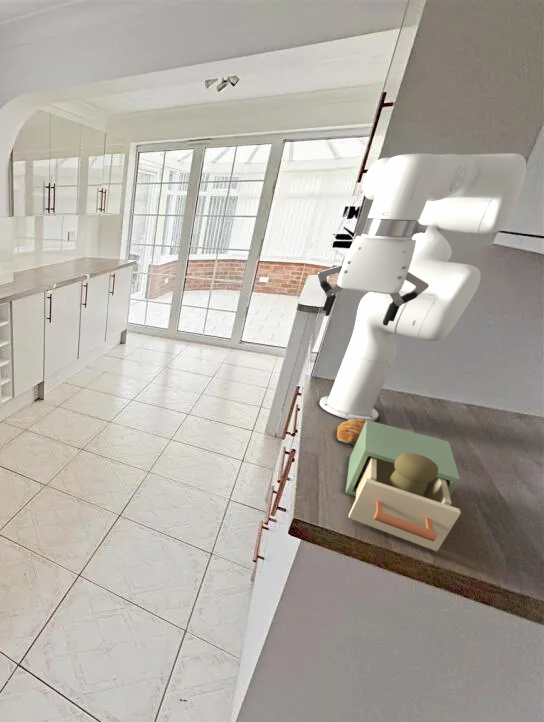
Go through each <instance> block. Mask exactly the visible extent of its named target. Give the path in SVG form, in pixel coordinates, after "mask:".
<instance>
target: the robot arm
mask: <svg viewBox="0 0 544 722" xmlns="http://www.w3.org/2000/svg"><path fill="white" fill-rule="evenodd" d="M526 173H527V161H526V159H525V157H524V156H523V155H522V154H520V153H517V152H516V153H515V152H509V153H508V152H507V153H478V154H477V153H476V154H475V153H474V154H459V153H458V154H457V153H444V154H443V153H442V154H436V153H435V154H434V153H405V154H398V155H396V156H393V157H391V156H390V157H382V158H380V159H378V160H376V161H375V162H374V163H373V164H372V165H371V166H370V167H369V168H368V170H367V172H366V173H365V175H364V178H363V181H362V192H363V195H364V197H365V198H366V199H368V200H370V201H371V200H372V203H371V207H370V210H369V213H368V215H367V218H366V222H365V224H364V227H363V230H362V233H361V235H356V236H355V238H354V240H353V241H352V243H351V245H350V247H349V249H348V252H347V254H346V256H345V259H344V261H343V264H340V265H337V266H334V267H331V268H327V269H325V270H321V271H319V272H318V273H317V277H318V281H319V284H320V288H321V289H322V290H323V292H324V293H325V294H326V299H325V302H324V305H323V308H322V311H323V312H325V314H324V316H325V317H328V316H330V314H331V312H332V309H333V306H334V304H335V301H336V297H337V293H340V292H341V291H342V290H344V289H345V290H350V291H357V292H358V291H359V292H366V294H364V296H363V297H362V298H361V299H360V300H359V301H360V302H359V304H358V307H357V310H356V316H355V323H354V326H353V331H352V335H351V338H350V341H349V343H348V346H347V348H346V351H345V353H344V356H343V358H342V361H341V363H340V367H339V369H338V371H337V375H336V377H335V380H334V383H333V385H332V388H331V391H330V393H329V395H327V396H323V397H321V398H320V400H319V406H320V408H322V409H323V410H324V411H326V412H327V413H330V414H331V415H334V416H336V417H339V418H342V419H346V420H351V419H362V420H365V421H366V420H369V421H373V422H376V420H377V419H378V417H379V412H378V410H376V409H375V408H374V407H375V405H376V402H377V400H378V397H379V395H380V394H381V391H382V388H383V386H384V384H385V382H386V379H387V377H388V375H389V373H390V370H391V368H392V366H393V364H394V362H395V359H396V357H397V354H398V347H397V344H396V342H395V339H394V337H393V335H398V336H403V337H407V338H411V339H417V340H422V341H428V342H437V341H440V340H443V339H444V338H446V337H447V336H448V335H449V334H450V333H451V332H452V330H453V328H455V326H456V324H457V322H458V321H459V320H460V318H461V316H462V315H463V314H464V311H465V310H466V308H467V307H468V305H469V304H470V302H471V300H472V299H473V298H474V295H475V294H476V292H477V290H478V288H479V285H480V282H481V279H482V278H481V271H480V270H479V268H478V267H476V266H474V265H472V264H468V263H463V262H462V263H461V262H454V261H453V262H451V261H449V260H450V259H451V257H452V254H453V251H452V248H451V245H450V243H449V242H448V240H447V239H446V238H445V236H444V235H443V234H441V232H449V233H465V234H478V235H479V234H481V235H484V234H485V235H488V234H495V233H497V232H500V231H501V230H503V229H504V228H505V227H506V226H508V224H509V223H510V221H511V220H512V218H513V217H514V215H513V214H515V212H516V210H515V209H517V206H518V203H519V199H520V197H521V192H522V190H523V186H524V182H525V179H526ZM512 216H513V217H512ZM336 274H338V278H337V281H336V284H335V285H333V286H331V284H330V283H329V281H328V277H329V276H332V275H336Z"/></svg>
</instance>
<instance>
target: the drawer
mask: <svg viewBox="0 0 544 722" xmlns="http://www.w3.org/2000/svg"><path fill="white" fill-rule="evenodd" d="M395 470H396V469H395V467H394V463H391V462H387V461H384V460H381V459H377V458H374V457H371V456H368V458H367V460H366V462H365V464H364V467H363V469H362V471H361V473H360V475H359V477H358V480H357V490H356V496H355V500H354V501H353V504H352V507H351V508H350V510H349V513H348V519H351V520H353V521H356V522H358V523H361V524H363V525H366V526H369V527H371V528H374V529H377V530H380V531H382V532H385V533H386V534H390V535H392V536H395V537H397V538H401V539H403V540H405V541H409V542H411V543H413V544H416V545H419V546H421V547H424V548H426V549H429V550H432V551H434V552H438V551H439V550H440V548H441V546H442V545H443V543H444V541H445V540H446V538H447V537H448V535H449V533H450V532H451V530H452V529H453V526H454V525H455V523H456V522H457V520H458V518H459V517H460V515H461V513H462V512H461V509H460V508H458V507H455V506H452V500H451V496H450V495H449V490H448V486H447V482H446V479H443V478H440V477H436V478H435V479H433V480H432V481H430V482H428V483H427V486H426V489H425V492H424V495H423V497H422V496H419V495H416V494H413V493H410V492H407V491H404V490H401V489H398V488H395V487H392V486H389V485H386V484H385V483H386V482H387V481H388V479H389V478H390V477H391V475H392V474H393V473H394V471H395Z"/></svg>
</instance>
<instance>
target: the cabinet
mask: <svg viewBox="0 0 544 722" xmlns="http://www.w3.org/2000/svg"><path fill="white" fill-rule="evenodd" d="M404 453H414V454H419V455H422V456H424V457H427V458H429V459H430V460H432V461H433V462H434V463H436V465H437V466H438V475H437V476H436V477H440V478H443V479H446V482H447V486H448V490H449V495H450V497H451V496H452V494H453V493H454V490H455V489H456V487H457V486H458V484H459V482H460V481H461V478H460V474H459V470H458V468H457V464H456V461H455V456H454V453H453V450H452V447H451V442H450V441H447V440H444V439H440V438H437V437H432V436H429V435H425V434H422V433H417V432H415V431H410V430H406V429H403V428H399V427H395V426H391V425H388V424H384V423H381V422H377V421H369V420H366V422H365V424H364V427H363V429H362V431H361V433H360V436H359V438H358V440H357V443H356V445H355V446H354V447H353V450H352V452H351V455H350V457H349V461H348V468H347V469H348V470H347V476H346V477H347V479H346V486H345V494H346V495H347V494H348V495H351V496H354V497H356V490H357V480H358V477H359V475H360V473H361V471H362V469H363V467H364V464H365V462H366V460H367V458H368V456H371V457H374V458H377V459H381V460H384V461H387V462H391V463H394V464H395V460H396V458H397V457H398V456H400V455H402V454H404Z"/></svg>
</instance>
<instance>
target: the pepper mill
mask: <svg viewBox="0 0 544 722" xmlns="http://www.w3.org/2000/svg"><path fill="white" fill-rule="evenodd" d="M394 467H395V469H396V470H395V471H394V473H393V474H392V475H391V477H390V478H389V479H388V481H387V482H386V483H385V484H386V485H389V486H392V487H395V488H398V489H401V490H404V491H407V492H410V493H413V494H416V495H419V496H422V497H423V495H424V492H425V489H426V486H427V483H428V482H430V481H432V480H433V479H435V478H436V476H437V475H438V466H437V465H436V463H434V462H433V461H432V460H430V459H429V458H427V457H424V456H422V455H419V454H414V453H404V454H402V455H400V456H398V457H397V458H396V460H395V464H394Z"/></svg>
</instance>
